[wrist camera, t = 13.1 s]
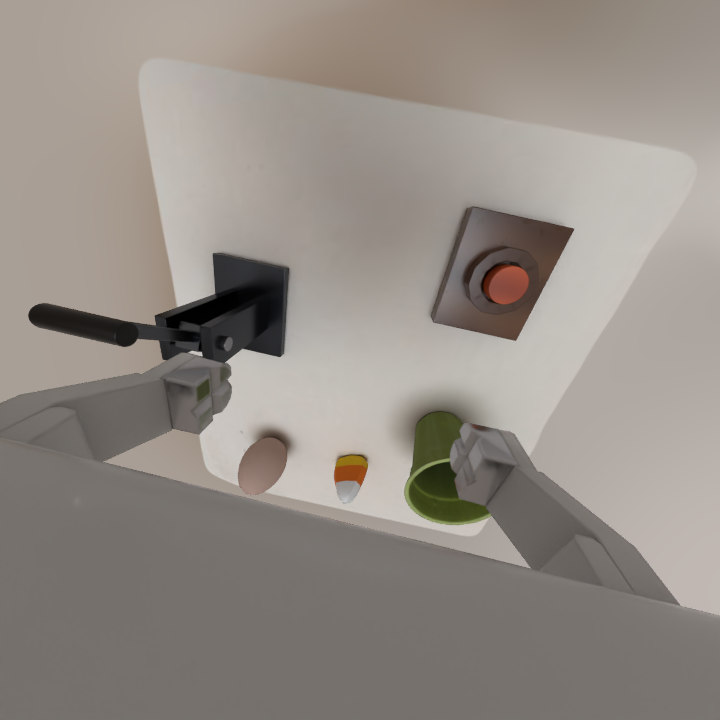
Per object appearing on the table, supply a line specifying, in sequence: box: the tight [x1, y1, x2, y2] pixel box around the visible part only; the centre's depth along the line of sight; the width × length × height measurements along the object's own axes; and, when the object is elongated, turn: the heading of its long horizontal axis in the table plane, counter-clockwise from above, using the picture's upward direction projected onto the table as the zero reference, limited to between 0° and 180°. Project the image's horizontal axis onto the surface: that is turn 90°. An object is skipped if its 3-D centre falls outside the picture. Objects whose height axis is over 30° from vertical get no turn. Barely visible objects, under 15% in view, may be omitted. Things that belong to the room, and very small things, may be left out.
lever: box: [28, 303, 202, 352], centre depth 20 cm, size 12×5×2 cm
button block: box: [431, 207, 574, 341], centre depth 28 cm, size 12×10×4 cm
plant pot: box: [404, 412, 492, 525], centre depth 35 cm, size 12×12×11 cm
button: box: [483, 264, 529, 304], centre depth 25 cm, size 4×4×2 cm
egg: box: [238, 438, 287, 495], centre depth 41 cm, size 7×7×10 cm
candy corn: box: [334, 455, 368, 504], centre depth 42 cm, size 6×3×8 cm, turn 104°
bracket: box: [155, 253, 289, 363], centre depth 29 cm, size 12×9×13 cm
